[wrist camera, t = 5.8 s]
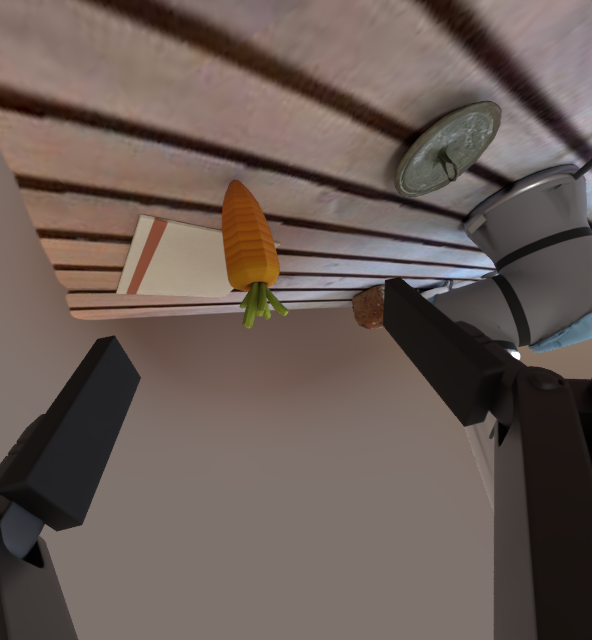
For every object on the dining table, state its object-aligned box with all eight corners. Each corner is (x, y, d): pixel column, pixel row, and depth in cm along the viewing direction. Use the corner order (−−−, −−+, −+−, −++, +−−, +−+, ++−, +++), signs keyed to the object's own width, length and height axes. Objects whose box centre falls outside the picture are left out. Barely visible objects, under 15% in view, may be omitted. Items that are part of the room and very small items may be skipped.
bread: (348, 298, 77) (358, 332, 74) (379, 281, 69) (391, 319, 66) (386, 300, 88) (395, 329, 86) (416, 286, 81) (428, 318, 78)
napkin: (140, 213, 29) (140, 217, 29) (279, 242, 40) (280, 244, 40) (116, 291, 43) (116, 293, 43) (223, 295, 55) (223, 297, 55)
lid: (369, 151, 30) (374, 197, 30) (468, 77, 21) (476, 141, 21) (424, 171, 35) (429, 210, 35) (519, 119, 27) (525, 169, 27)
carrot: (268, 169, 27) (303, 314, 23) (247, 202, 31) (274, 331, 27) (219, 153, 24) (250, 316, 20) (202, 192, 28) (226, 334, 24)
